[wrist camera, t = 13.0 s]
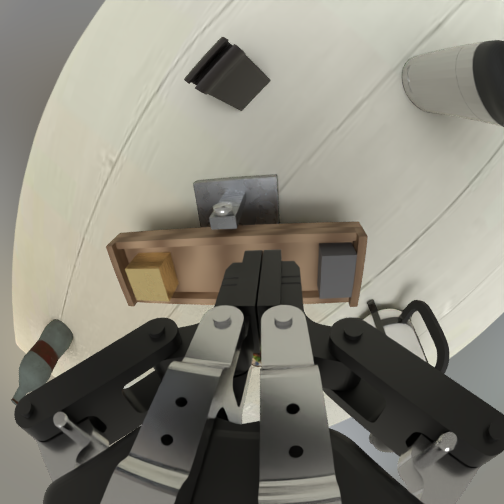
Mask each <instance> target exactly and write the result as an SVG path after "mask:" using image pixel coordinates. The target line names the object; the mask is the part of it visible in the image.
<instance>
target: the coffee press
mask: <svg viewBox="0 0 504 504" xmlns="http://www.w3.org/2000/svg"><path fill="white" fill-rule="evenodd" d="M367 304H368V306H369V309H370V312H371V314H370V315H369V316H367V317H366V318H365V319H363V320H364V321H366V322H367V323H369V324H370V325H372V326H373V327H375V328H376V329H378V330H379V331H381V332H382V333H384V334H385V335H387V336H388V337H390V338H391V339H393V340H394V341H396V342H397V343H399V344H400V345H402V346H403V347H405V348H406V349H408V350H409V351H411V352H412V353H414V354H415V355H417V356H418V357H420V358H421V359H423V360H424V361H426V362H427V363H428V361H427V358H426V356H425V353H424V351H423V348H422V346H421V343H420V341H419V339H418V336H417V334H416V332H415V329H414V327H413V325H412V323H411V317H412V314H413V313H414V312H415V311H419V313H420V314H421V316H422V318H423V320H424V322H425V324H426V326H427V328H428V330H429V333H430V335H431V337H432V339H433V341H434V344H435V346H436V349H437V363H436V366H435V368H436V369H437V370H439V371H440V372H442V373H443V374H444V373H445V371H446V369H447V366H448V363H449V347H448V343H447V340H446V337H445V335H444V333H443V331H442V329H441V327H440V325H439V323H438V321H437V319H436V317H435V316H434V314H433V312H432V310H431V309H430V307H429V306H428V305H427V304H426V303H425V302H423V301H419V300H414V301H412V302H411V303H409V304H408V306H407V307H406V308H405V309H404V311H403V312H401V311H399V310H396V309H383V310H379V311H377V308H376V305H375V303H374V300H372V301H370V302H367ZM409 319H410V321H409ZM369 440H370V443H371V444H373V445H374V446H375V448H376V449H378V450H379V451H382V452H393V451H392V450H391V449H390V448H388V447H387V446H386V445H385V444H383V443H382V442H381V441H380V440H379V439H377V438H376V437H375V436H374V435H373V434H371V433H370V436H369Z"/></svg>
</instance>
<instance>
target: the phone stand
mask: <svg viewBox="0 0 504 504" xmlns="http://www.w3.org/2000/svg"><path fill="white" fill-rule="evenodd" d="M228 41H229V40H228V39H226V38H224V37H221V38H220V39H219V40H218V41H217V43H216V44H215V45H214V46H213V47H212V48H211V49H210V50H209V51H208V52H207V53H206V54H205V55H204V57H203V58H202V59H201V60H200V61H199V62H198V63H197V64H196V66H195V67H194V68H193V69H192V70H191V71H190V73H189V74H188V75H187V76H186V77H185V79H184V80H185V81H186V82H187V83H189V84H190V83H191V82H192V83H193V84H196V85H197V86H196V87H195V89H197V90H199V91H200V92H202V93H204V94H209V95H211V96H213V97H215V98H217V99H219V100H221V101H223V102H225V103H227V104H229V105H231V106H233V107H235V108H237V109H239V110H241V111H242V110H243V109H244V107H245V106H246V105H247V104H248V103H249V102H250V101H251V100H252V99H253V98H254V97H255V96H256V95H257V94H258V93H259V92H260V91H261V90H262V89H263V87H264V86H265V85H266V84H267V83H268V82H269V81H270V79H269V78H268V77H267V76H266V75H265V74H264V73H263V72H262V71H261V70H260V69H259V68H258V67H257V66H256V65H255V64H254V63H253V62H252V61H251V60H250V59H249V58H248V57H247V56H246V55H245V53H244V51H243V50H241V49H240V48H239V47H238V46H236V45H235V44H234V45H231V44H230V43H229V42H228Z"/></svg>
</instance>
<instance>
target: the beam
mask: <svg viewBox="0 0 504 504" xmlns="http://www.w3.org/2000/svg"><path fill="white" fill-rule="evenodd" d="M367 237H368V236H367V235H366V233H365V231H364V230H363V228H362V226H361V225H360V223H359V222H322V223H288V224H262V225H239V226H238V227H237V228H236V229H216V230H211V227H201V228H184V229H168V230H154V231H140V232H127V233H120V234H119V235H117V236H116V237H115V238H114V239H113V240H112V241H111V242H110V243H109V244H108V245H107V246H106V248H107V251H108V254H109V257H110V260H111V262H112V265H113V268H114V270H115V273H116V276H117V278H118V281H119V283H120V286H121V288H122V291H123V293H124V296H125V298H126V300H127V303H128V305H129V306H135V304H136V303H137V302H145V303H167V304H200V305H215V303H216V300H217V296H218V293H219V290H220V287H221V283H222V280H223V277H224V274H225V271H226V269H227V268H228V267H229V266H230V265H231V264H232V263H237V262H242V261H243V257H244V252H245V251H248V250H263V251H264V250H276V249H281V257H282V261H295V262H296V264H297V265H298V266H299V267H300V275H301V285H302V297H303V304H316V303H338V302H349V305H350V307H356V306H357V305H358V300H359V294H360V288H361V282H362V276H363V269H364V262H365V254H366V246H367ZM344 242H351V243H352V245H353V247H354V249H355V252H356V254H357V259H356V268H355V275H354V282H353V289H352V296H351V297H349V298H329V299H319V292H318V286H317V279H318V256H319V243H344ZM155 252H170V253H171V257H172V261H173V264H174V268H175V272H176V275H177V279H178V282H179V284H178V286H177V288H176V290H175V292H174V294H173V296H172V297H171V299H170V301H169V302H167V301H143V300H137V299H136V297H135V294H134V292H133V289H132V287H131V284H130V281H129V279H128V276H127V273H126V271H125V268H126V267H127V266H128V265H129V263H130V262H131V261H132V260H133V259H134V257H135V256H136V255H137V254H138V253H155Z"/></svg>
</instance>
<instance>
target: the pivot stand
mask: <svg viewBox="0 0 504 504" xmlns="http://www.w3.org/2000/svg"><path fill="white" fill-rule="evenodd" d="M193 185H194V191H195V197H196V203H197V209H198V214H199V220H200V225H201V227H211V230H216V229H236V228H237V227H238V226H239V225H262V224H279V206H278V190H277V175H261V176H246V177H232V178H221V179H210V180H200V181H195V182H194V183H193Z"/></svg>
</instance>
